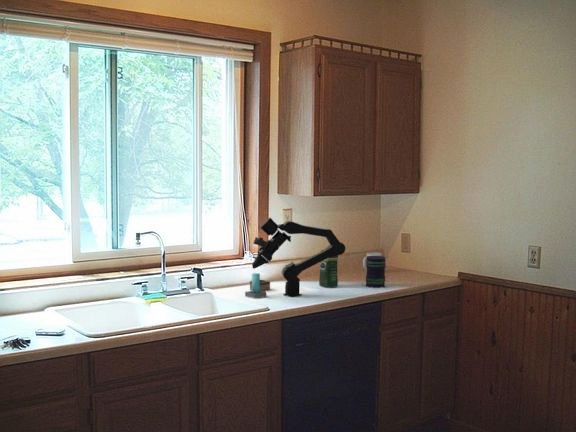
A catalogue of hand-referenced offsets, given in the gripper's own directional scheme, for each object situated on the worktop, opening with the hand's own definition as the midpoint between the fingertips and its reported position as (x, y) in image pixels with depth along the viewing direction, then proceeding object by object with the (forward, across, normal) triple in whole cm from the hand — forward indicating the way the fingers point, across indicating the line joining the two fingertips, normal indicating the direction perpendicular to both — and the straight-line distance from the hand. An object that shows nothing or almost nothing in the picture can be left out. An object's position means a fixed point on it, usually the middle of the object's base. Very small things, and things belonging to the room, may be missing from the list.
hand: (252, 267), depth 302 cm
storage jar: (-34, -24, +55) cm, 69 cm away
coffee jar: (-17, -24, +37) cm, 48 cm away
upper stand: (+7, -15, +12) cm, 20 cm away
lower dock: (+9, +1, +10) cm, 14 cm away
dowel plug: (+9, +1, +10) cm, 13 cm away
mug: (-40, -67, +59) cm, 98 cm away
